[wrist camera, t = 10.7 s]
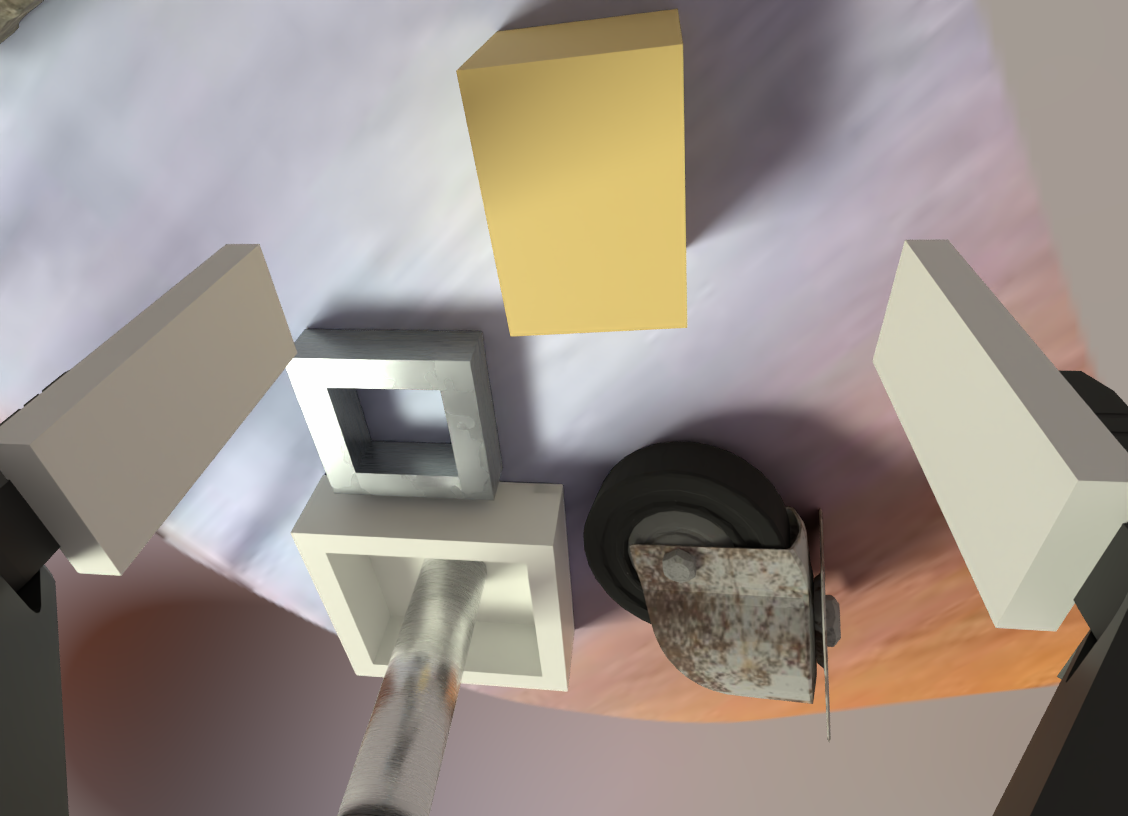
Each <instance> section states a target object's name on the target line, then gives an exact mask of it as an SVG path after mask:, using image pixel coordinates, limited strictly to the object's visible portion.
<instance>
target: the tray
mask: <svg viewBox="0 0 1128 816" xmlns="http://www.w3.org/2000/svg"><path fill="white" fill-rule="evenodd" d="M291 535H292V537H293V539H294V541H295V544H296V546H297V548H298V550H299V552H300V554H301V557H302V559H303V561H304V563H305V565H306V567H307V569H308V572H309V574H310V576H311V578H312V580H313V582H314V585H315V587H316V589H317V591H318V593H319V595H320V598H321V600H322V602H323V604H324V606H325V608H326V610H327V613H328V615H329V617H330V619H331V621H332V623H333V626H334V628H335V630H336V632H337V634H338V636H339V638H340V641H341V643H342V645H343V647H344V649H345V651H346V654H347V656H348V658H349V660H350V662H351V664H352V666H353V669H354V671H355V673H356V675H362V676H375V677H384V676H385V673H386V670H387V667H388V664H389V661H390V658H391V655H392V652H393V649H394V646H395V644H396V641H397V638H398V635H399V632H400V629H401V626H402V623H403V620H404V617H405V614H406V611H407V608H408V605H409V602H410V599H411V596H412V593H413V590H414V587H415V584H416V581H417V578H418V575H419V572H420V569H421V566H422V564H423V561H424V558H433V559H451V560H470V561H483V562H484V563H485V565H486V568H487V576H486V580H485V584H484V589H483V593H482V597H481V601H480V605H479V609H478V614H477V618H476V622H475V626H474V630H473V634H472V639H471V643H470V647H469V651H468V655H467V659H466V664H465V668H464V672H463V676H462V680H461V683H465V684H478V685H491V686H504V687H517V688H530V689H543V690H556V691H568V685H569V676H570V667H571V658H572V649H573V640H574V631H575V629H574V617H573V605H572V592H571V580H570V568H569V555H568V543H567V531H566V518H565V506H564V494H563V484H541V483H516V482H499V484H498V488H497V491H496V495H495V499H494V501H493V500H469V499H446V498H422V497H399V496H375V495H352V494H334V492H333V489H332V487H331V484H330V482H329V479H328V476H327V475H323V476H322V478H321V479H320V481H319V483H318V485H317V486H316V488H315V490H314V492H313V494H312V495H311V497H310V499H309V501H308V503H307V504H306V506H305V508H304V510H303V511H302V513H301V515H300V517H299V519H298V520H297V522H296V524H295V526H294V527H293V529H292V531H291Z"/></svg>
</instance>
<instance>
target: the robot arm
mask: <svg viewBox="0 0 1128 816" xmlns="http://www.w3.org/2000/svg"><path fill="white" fill-rule="evenodd" d="M296 354H297V350H296V347H295V345H294V342H293V339H292V336H291V333H290V330H289V327H288V324H287V322H286V319H285V316H284V313H283V310H282V307H281V304H280V302H279V299H278V296H277V293H276V290H275V287H274V284H273V282H272V279H271V276H270V273H269V270H268V267H267V264H266V261H265V259H264V256H263V253H262V250H261V247H260V244H226V245H225V246H223V247H222V248H221V249H220V250H218V251H217V252H216V253H215V254H213V255H212V256H211V257H210V258H208V259H207V260H206V261H205V262H204V263H202V264H201V265H200V266H199V267H197V268H196V269H195V270H194V271H192V272H191V273H190V274H189V275H187V276H186V277H185V278H184V279H182V280H181V281H180V282H179V283H177V284H176V285H175V286H174V287H172V288H171V289H170V290H169V291H167V292H166V293H165V294H164V295H163V296H161V297H160V298H159V299H158V300H156V301H155V302H154V303H153V304H151V305H150V306H149V307H148V308H146V309H145V310H144V311H143V312H141V313H140V314H139V315H138V316H136V317H135V318H134V319H133V320H131V321H130V322H129V323H128V324H127V325H125V326H124V327H123V328H122V329H120V330H119V331H118V332H117V333H115V334H114V335H113V336H112V337H110V338H109V339H108V340H107V341H105V342H104V343H103V344H102V345H100V346H99V347H98V348H97V349H95V350H94V351H93V352H92V353H90V354H89V355H88V356H87V357H86V358H84V359H83V360H82V361H81V362H79V363H78V364H77V365H76V366H74V367H73V368H72V369H70V370H68V371H67V372H65V373H63V374H62V375H61V376H59V377H58V378H57V379H56V380H55V381H53V382H52V383H51V384H50V385H48V386H47V387H46V388H45V389H43V390H42V393H41V394H37V395H36V396H35V397H33V398H32V399H31V400H30V401H28V402H27V403H26V404H25V405H24V407H23V408H22V409H18V410H17V411H16V412H15V413H13V414H12V415H11V416H10V417H8V418H7V419H6V420H5V421H3V422H2V423H1V424H0V816H69V812H68V796H67V795H68V794H67V777H66V759H65V743H64V724H63V709H62V691H61V673H60V656H59V639H58V621H57V605H56V586H55V580H54V578H53V576H52V574H51V573H50V571H49V570H48V568H47V567H46V566H45V565H44V564H45V563H46V562H47V561H48V560H49V559H50V557H51V556H52V555H53V554H54V553H55V552H56V551H57V550H58V549H59V548H60V549H61V551H62V552H63V553H64V555H65V556H66V557H67V559H68V560H69V561H70V563H71V564H72V565H73V567H74V568H75V569H76V571H77V572H78V573H88V574H104V575H122V574H123V573H124V572H125V570H126V569H127V568H128V567H129V565H130V564H131V563H132V562H133V560H134V559H135V558H136V556H137V555H138V554H139V553H140V551H141V550H142V549H143V548H144V546H145V545H146V544H147V543H148V541H149V540H150V539H151V537H152V536H153V535H154V534H155V532H156V531H157V530H158V529H159V527H160V526H161V525H162V524H163V522H164V521H165V520H166V519H167V517H168V516H169V515H170V513H171V512H172V511H173V510H174V508H175V507H176V506H177V505H178V503H179V502H180V501H181V500H182V498H183V497H184V496H185V494H186V493H187V492H188V491H189V489H190V488H191V487H192V486H193V484H194V483H195V482H196V481H197V479H198V478H199V477H200V476H201V474H202V473H203V472H204V470H205V469H206V468H207V467H208V465H209V464H210V463H211V462H212V460H213V459H214V458H215V457H216V455H217V454H218V453H219V451H220V450H221V449H222V448H223V446H224V445H225V444H226V443H227V441H228V440H229V439H230V438H231V436H232V435H233V434H234V432H235V431H236V430H237V429H238V427H239V426H240V425H241V424H242V422H243V421H244V420H245V419H246V417H247V416H248V415H249V413H250V412H251V411H252V410H253V408H254V407H255V406H256V405H257V403H258V402H259V401H260V400H261V398H262V397H263V396H264V395H265V393H266V392H267V391H268V389H269V388H270V387H271V386H272V384H273V383H274V382H275V381H276V379H277V378H278V377H279V376H280V374H281V373H282V372H283V370H284V369H285V368H286V367H287V365H288V364H289V363H290V362H291V360H292V359H293V358H294V357H295V355H296ZM873 363H874V365H875V368H876V370H877V372H878V374H879V376H880V378H881V381H882V383H883V385H884V387H885V389H886V391H887V394H888V396H889V398H890V400H891V402H892V404H893V407H894V409H895V411H896V413H897V415H898V417H899V420H900V422H901V424H902V426H903V428H904V430H905V433H906V435H907V437H908V439H909V441H910V443H911V445H912V448H913V450H914V452H915V454H916V456H917V458H918V461H919V463H920V465H921V467H922V469H923V471H924V474H925V476H926V478H927V480H928V482H929V484H930V487H931V489H932V491H933V493H934V495H935V497H936V500H937V502H938V504H939V506H940V508H941V510H942V513H943V515H944V517H945V519H946V521H947V523H948V526H949V528H950V530H951V532H952V534H953V536H954V539H955V541H956V543H957V545H958V547H959V549H960V552H961V554H962V556H963V558H964V560H965V562H966V565H967V567H968V569H969V571H970V573H971V575H972V578H973V580H974V582H975V584H976V586H977V588H978V591H979V593H980V595H981V597H982V599H983V601H984V604H985V606H986V608H987V610H988V612H989V614H990V617H991V619H992V621H993V623H994V625H995V627H996V628H1009V629H1026V630H1042V631H1057V629H1058V628H1059V626H1060V625H1061V623H1062V622H1063V620H1064V619H1065V617H1066V616H1067V614H1068V613H1069V611H1070V610H1071V608H1072V606H1073V605H1074V603H1075V604H1076V605H1077V607H1078V609H1079V610H1080V612H1081V614H1082V616H1083V617H1084V619H1085V621H1086V622H1087V624H1088V626H1089V627H1090V630H1089V632H1088V633H1087V635H1086V636H1085V638H1084V639H1083V640H1082V642H1081V643H1080V645H1079V646H1078V647H1077V649H1076V650H1075V652H1074V653H1073V655H1072V656H1071V657H1070V659H1069V660H1068V662H1067V663H1066V664H1065V666H1064V667H1063V669H1062V670H1061V672H1060V673H1059V674H1058V676H1057V677H1059V678H1060V679H1062V680H1061V682H1060V684H1059V686H1058V688H1057V690H1056V692H1055V694H1054V696H1053V698H1052V700H1051V702H1050V704H1049V706H1048V708H1047V710H1046V712H1045V714H1044V716H1043V717H1042V719H1041V721H1040V724H1039V725H1038V727H1037V729H1036V731H1035V733H1034V735H1033V737H1032V739H1031V741H1030V743H1029V745H1028V747H1027V749H1026V751H1025V753H1024V755H1023V757H1022V759H1021V761H1020V763H1019V765H1018V767H1017V769H1016V770H1015V773H1014V775H1013V776H1012V779H1011V780H1010V782H1009V784H1008V786H1007V788H1006V790H1005V792H1004V794H1003V796H1002V798H1001V800H1000V802H999V804H998V806H997V808H996V810H995V812H994V814H993V816H1128V406H1127V405H1126V404H1125V403H1124V402H1123V400H1122V399H1121V398H1120V397H1119V396H1118V395H1117V394H1116V393H1115V392H1114V391H1113V390H1111V389H1110V388H1108V387H1107V386H1105V385H1103V384H1102V383H1100V382H1098V381H1097V380H1095V379H1093V378H1092V377H1090V376H1088V375H1087V374H1085V373H1084V372H1082V371H1058V370H1057V368H1056V367H1055V366H1054V365H1053V364H1052V362H1051V361H1050V360H1049V359H1048V358H1047V357H1046V355H1045V354H1044V353H1043V352H1042V351H1041V349H1040V348H1039V347H1038V346H1037V345H1036V344H1035V342H1034V341H1033V340H1032V339H1031V338H1030V336H1029V335H1028V334H1027V333H1026V332H1025V331H1024V329H1023V328H1022V327H1021V326H1020V325H1019V323H1018V322H1017V321H1016V320H1015V319H1014V317H1013V316H1012V315H1011V314H1010V313H1009V312H1008V310H1007V309H1006V308H1005V307H1004V306H1003V304H1002V303H1001V302H1000V301H999V300H998V299H997V297H996V296H995V295H994V294H993V293H992V291H991V290H990V289H989V288H988V287H987V286H986V284H985V283H984V282H983V281H982V280H981V278H980V277H979V276H978V275H977V274H976V273H975V271H974V270H973V269H972V268H971V267H970V265H969V264H968V263H967V262H966V261H965V259H964V258H963V257H962V256H961V255H960V254H959V252H958V251H957V250H956V249H955V248H954V246H953V245H952V244H951V243H950V242H949V241H948V240H905V242H904V246H903V250H902V253H901V257H900V261H899V265H898V268H897V272H896V276H895V279H894V283H893V287H892V291H891V294H890V298H889V302H888V306H887V309H886V313H885V317H884V321H883V324H882V328H881V332H880V336H879V339H878V343H877V347H876V351H875V354H874V358H873Z"/></svg>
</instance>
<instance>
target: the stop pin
mask: <svg viewBox="0 0 1128 816" xmlns="http://www.w3.org/2000/svg"><path fill="white" fill-rule="evenodd" d="M486 576H487V568H486V565H485V563H484V562H483V561H470V560H451V559H433V558H424V561H423V564H422V566H421V569H420V572H419V575H418V578H417V581H416V584H415V587H414V590H413V593H412V596H411V599H410V602H409V605H408V608H407V611H406V614H405V617H404V620H403V623H402V626H401V629H400V632H399V635H398V638H397V641H396V644H395V646H394V649H393V652H392V655H391V658H390V661H389V664H388V667H387V670H386V673H385V676H384V679H383V682H382V685H381V688H380V691H379V694H378V697H377V700H376V703H375V706H374V709H373V712H372V715H371V718H370V721H369V724H368V727H367V729H366V732H365V736H364V738H363V741H362V744H361V747H360V750H359V753H358V756H357V759H356V762H355V765H354V768H353V771H352V774H351V777H350V780H349V783H348V786H347V789H346V792H345V795H344V798H343V801H342V804H341V806H340V810H339V812H338V815H337V816H429V813H430V809H431V805H432V801H433V796H434V792H435V789H436V784H437V780H438V776H439V772H440V767H441V763H442V759H443V755H444V751H445V747H446V743H447V738H448V734H449V730H450V726H451V722H452V718H453V713H454V709H455V705H456V701H457V697H458V692H459V689H460V684H461V680H462V676H463V672H464V668H465V664H466V659H467V655H468V651H469V647H470V643H471V639H472V634H473V630H474V626H475V622H476V618H477V614H478V609H479V605H480V601H481V597H482V593H483V589H484V584H485V580H486Z"/></svg>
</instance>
